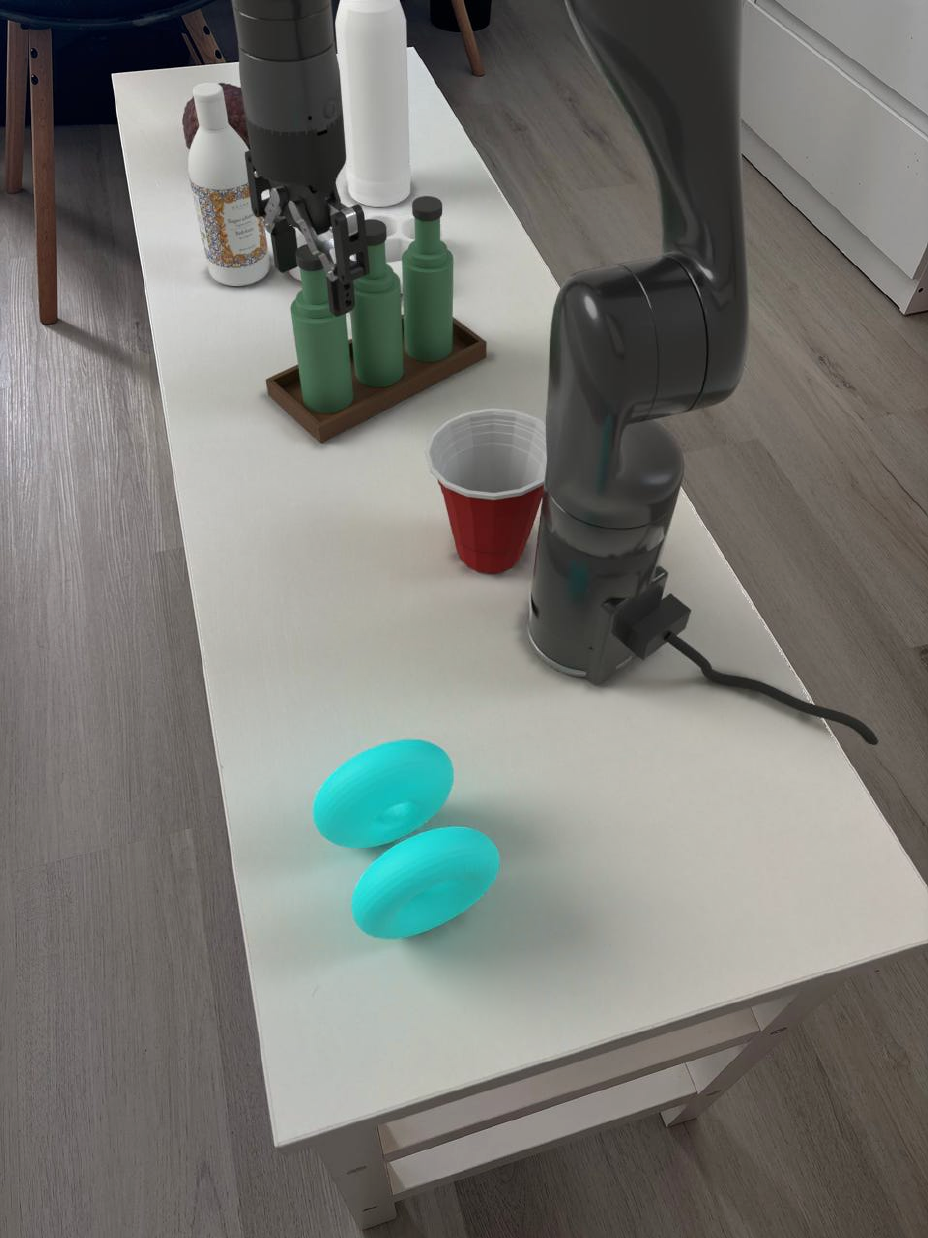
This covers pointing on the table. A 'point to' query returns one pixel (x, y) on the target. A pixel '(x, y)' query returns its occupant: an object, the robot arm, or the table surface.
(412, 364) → the tray
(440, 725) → the table surface
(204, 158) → the bath foam
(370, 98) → the bottle
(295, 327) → the loose bottle
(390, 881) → the turquoise yo-yo
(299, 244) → the white piece
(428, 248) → the tray bottle
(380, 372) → the tray bottle
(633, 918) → the table surface
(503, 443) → the plastic cup
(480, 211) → the table surface
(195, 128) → the pine cone
